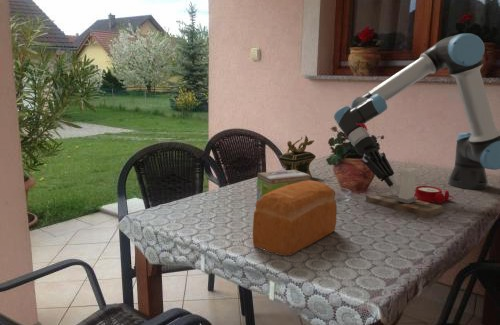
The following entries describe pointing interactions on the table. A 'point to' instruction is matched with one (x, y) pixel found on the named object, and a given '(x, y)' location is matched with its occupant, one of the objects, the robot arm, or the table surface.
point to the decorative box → (298, 157)
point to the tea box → (278, 180)
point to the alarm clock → (431, 194)
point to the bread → (294, 217)
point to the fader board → (405, 204)
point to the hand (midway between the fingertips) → (398, 192)
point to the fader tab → (407, 185)
